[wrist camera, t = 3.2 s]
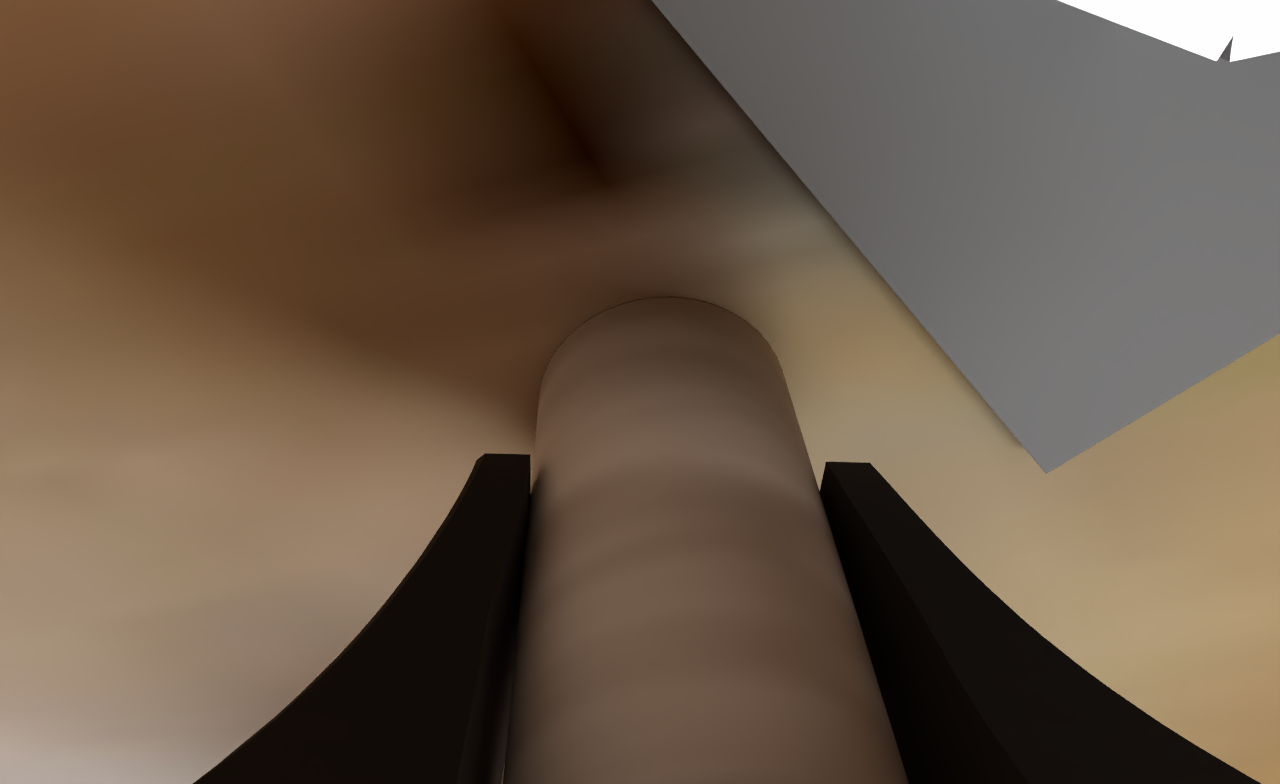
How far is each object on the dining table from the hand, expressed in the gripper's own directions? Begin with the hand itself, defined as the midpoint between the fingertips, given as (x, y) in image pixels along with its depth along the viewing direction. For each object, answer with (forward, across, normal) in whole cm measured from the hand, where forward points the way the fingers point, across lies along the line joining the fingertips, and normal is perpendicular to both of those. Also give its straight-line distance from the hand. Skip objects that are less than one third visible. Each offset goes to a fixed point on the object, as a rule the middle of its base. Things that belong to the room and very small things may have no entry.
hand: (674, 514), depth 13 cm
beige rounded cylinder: (+3, 0, 0) cm, 3 cm away
